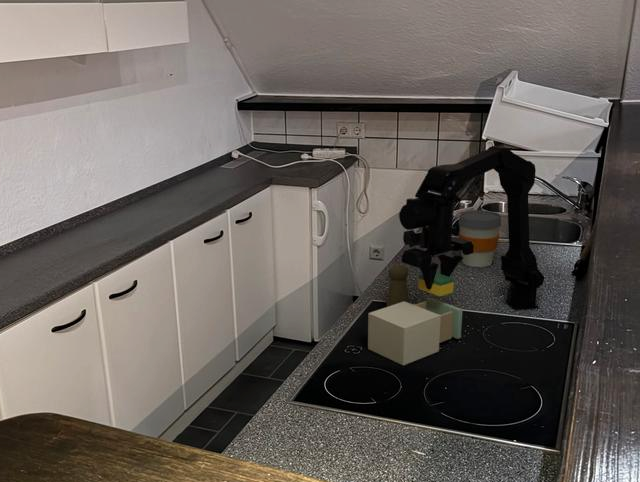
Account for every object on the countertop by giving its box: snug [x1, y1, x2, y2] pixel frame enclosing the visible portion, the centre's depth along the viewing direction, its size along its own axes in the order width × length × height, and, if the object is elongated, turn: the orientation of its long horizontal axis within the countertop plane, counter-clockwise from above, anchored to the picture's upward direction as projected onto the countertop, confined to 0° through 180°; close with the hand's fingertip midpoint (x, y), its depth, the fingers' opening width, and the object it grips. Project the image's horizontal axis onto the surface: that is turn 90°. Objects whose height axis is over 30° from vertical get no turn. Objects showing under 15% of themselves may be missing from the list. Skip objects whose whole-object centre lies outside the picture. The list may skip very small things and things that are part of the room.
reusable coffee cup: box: [458, 209, 502, 268], centre depth 233 cm, size 13×13×15 cm
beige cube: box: [367, 301, 441, 366], centre depth 176 cm, size 12×12×9 cm
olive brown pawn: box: [385, 264, 410, 307], centre depth 202 cm, size 6×6×11 cm
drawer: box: [414, 297, 463, 344], centre depth 181 cm, size 12×10×7 cm
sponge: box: [417, 272, 455, 297], centre depth 181 cm, size 7×4×4 cm, turn 36°
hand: (435, 286), depth 181 cm, fingers closed on sponge, 4 cm apart
